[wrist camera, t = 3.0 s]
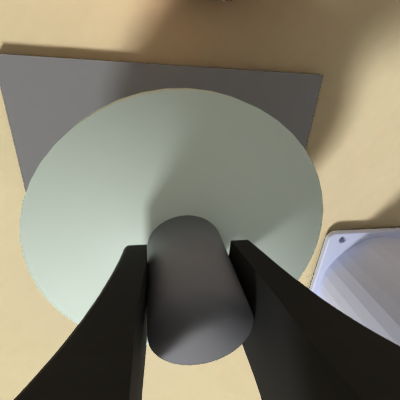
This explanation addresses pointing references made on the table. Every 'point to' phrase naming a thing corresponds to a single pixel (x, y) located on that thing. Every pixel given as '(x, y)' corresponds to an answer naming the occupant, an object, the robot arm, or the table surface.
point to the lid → (171, 212)
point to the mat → (129, 85)
